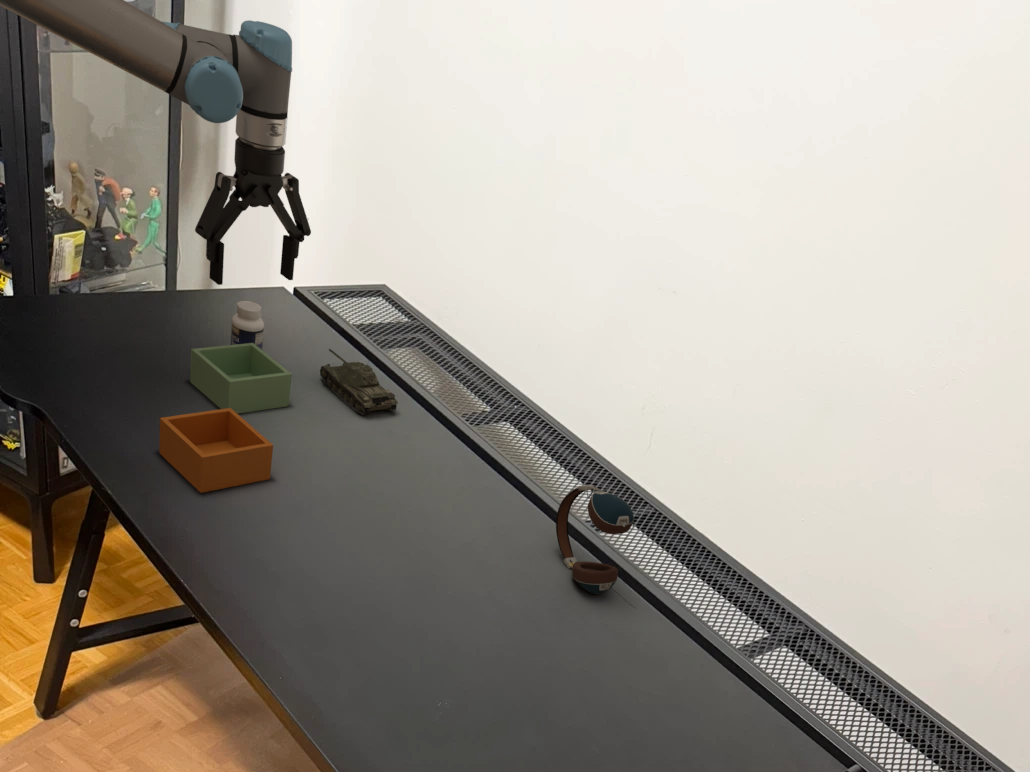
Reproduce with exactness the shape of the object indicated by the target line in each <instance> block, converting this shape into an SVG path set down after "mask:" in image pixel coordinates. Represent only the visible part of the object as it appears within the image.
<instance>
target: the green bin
mask: <svg viewBox="0 0 1030 772" xmlns="http://www.w3.org/2000/svg"><path fill="white" fill-rule="evenodd" d="M189 375H190V376H189V382H190V383H191V384H192V385H193V386H194V388H196V389H197V390H199V391H200V392H201V393H202V394H203V395H204V396H206V398H208V399H209V400H210V401H211V402H213V404H214V405H215V406H217V407H218V408H219V409H226V408H231V409H232V410H233V411H235V412H236V413H237V414H238V415H240V414H243V413H252V412H258V411H265V410H271V409H278V408H285V407H289V404H290V397H291V396H290V395H291V385H292V375H293V373H291V372H290V371H289V370H287V369H286V368H285V367H284V366H282V365H281V364H280V363H279V362H278V361H276V360H275V359H274V358H273V357H271V356H270V355H269V354H267V352H265V351H264V350H263V349H262V350H261V349H260V348H259V347H258V346H256V345H255V344H254V343H246V344H236V345H230V344H228V345H227V344H226V345H217V346H216V345H215V346H207V347H196V348H191V349H190V374H189Z"/></svg>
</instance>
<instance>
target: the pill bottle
mask: <svg viewBox="0 0 1030 772" xmlns="http://www.w3.org/2000/svg"><path fill="white" fill-rule="evenodd" d="M261 315H262V307H261V305H259V304H258V303H256V302H254V301H249V300H241V301H238V302H237V304H236V313H235V314H234V315H233V316H232V318H231V328H230V344H229V345H236V344H246V343H254V344H255V345H256V346H258V347H259V348H260V349H261V350H263V342H264V332H265V323H264V320H263V318H261Z"/></svg>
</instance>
